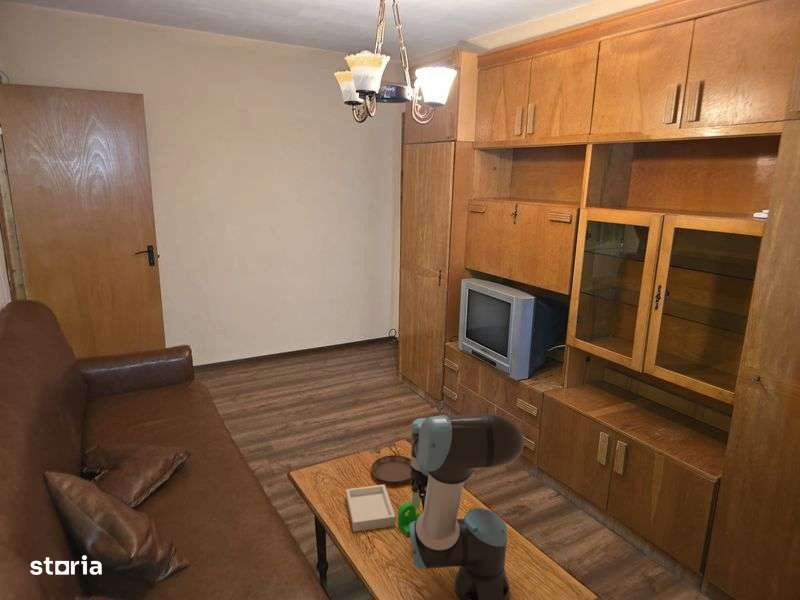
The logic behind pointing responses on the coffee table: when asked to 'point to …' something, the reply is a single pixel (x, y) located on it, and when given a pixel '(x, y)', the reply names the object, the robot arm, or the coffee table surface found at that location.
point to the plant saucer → (392, 469)
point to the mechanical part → (407, 517)
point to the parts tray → (370, 508)
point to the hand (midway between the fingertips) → (421, 522)
